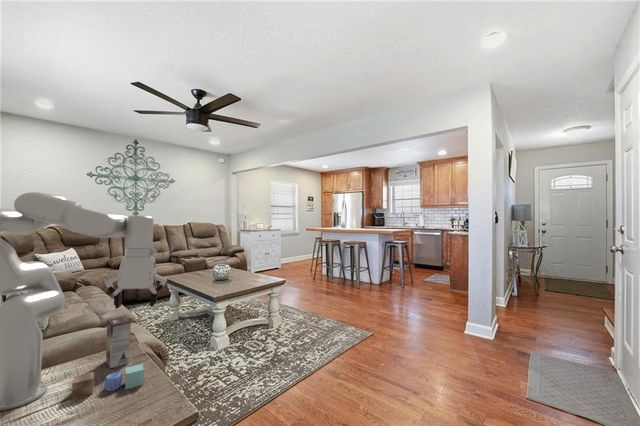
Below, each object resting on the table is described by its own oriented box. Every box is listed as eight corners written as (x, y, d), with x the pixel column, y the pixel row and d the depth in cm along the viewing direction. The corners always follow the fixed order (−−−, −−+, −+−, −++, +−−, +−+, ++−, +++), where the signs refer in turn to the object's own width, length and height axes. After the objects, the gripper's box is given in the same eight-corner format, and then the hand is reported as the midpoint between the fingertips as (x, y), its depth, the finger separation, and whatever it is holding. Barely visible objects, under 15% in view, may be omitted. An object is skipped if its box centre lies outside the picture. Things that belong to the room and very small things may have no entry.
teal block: (125, 389, 92) (125, 374, 92) (124, 382, 96) (125, 367, 96) (143, 384, 95) (143, 369, 95) (142, 378, 99) (142, 363, 99)
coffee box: (105, 360, 112) (106, 319, 112) (124, 355, 116) (125, 316, 117) (109, 368, 105) (111, 325, 106) (130, 362, 110) (131, 321, 111)
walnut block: (71, 400, 87) (72, 383, 87) (73, 392, 91) (74, 376, 91) (92, 394, 89) (93, 378, 90) (93, 387, 94) (94, 371, 94)
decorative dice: (103, 392, 91) (104, 379, 91) (107, 385, 94) (108, 373, 94) (118, 389, 92) (119, 377, 92) (122, 383, 96) (122, 371, 96)
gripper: (170, 252, 98) (167, 301, 97) (112, 252, 93) (108, 304, 92) (165, 254, 91) (163, 307, 90) (102, 254, 86) (98, 311, 85)
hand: (135, 306), depth 91 cm, fingers open, 9 cm apart
